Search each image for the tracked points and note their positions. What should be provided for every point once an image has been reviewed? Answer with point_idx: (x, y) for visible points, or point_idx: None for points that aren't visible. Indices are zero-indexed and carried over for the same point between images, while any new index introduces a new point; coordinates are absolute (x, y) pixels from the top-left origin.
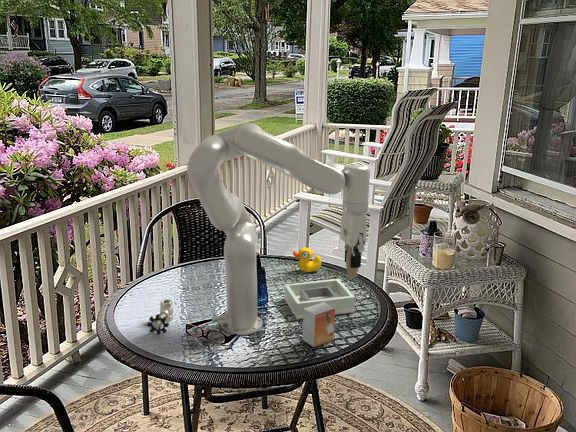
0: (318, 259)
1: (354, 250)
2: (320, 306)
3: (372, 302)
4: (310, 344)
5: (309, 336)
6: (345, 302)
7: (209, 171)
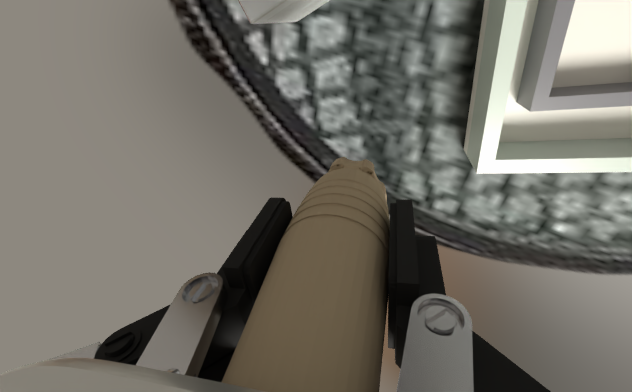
0: None
1: (160, 338)
2: None
3: (506, 222)
4: None
5: None
6: (478, 128)
7: None
